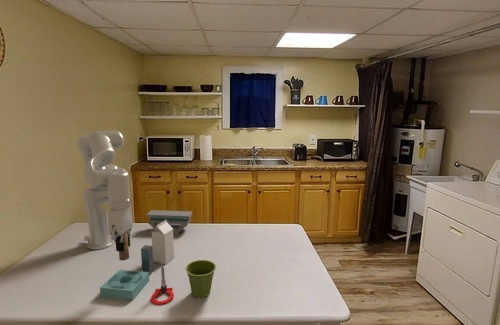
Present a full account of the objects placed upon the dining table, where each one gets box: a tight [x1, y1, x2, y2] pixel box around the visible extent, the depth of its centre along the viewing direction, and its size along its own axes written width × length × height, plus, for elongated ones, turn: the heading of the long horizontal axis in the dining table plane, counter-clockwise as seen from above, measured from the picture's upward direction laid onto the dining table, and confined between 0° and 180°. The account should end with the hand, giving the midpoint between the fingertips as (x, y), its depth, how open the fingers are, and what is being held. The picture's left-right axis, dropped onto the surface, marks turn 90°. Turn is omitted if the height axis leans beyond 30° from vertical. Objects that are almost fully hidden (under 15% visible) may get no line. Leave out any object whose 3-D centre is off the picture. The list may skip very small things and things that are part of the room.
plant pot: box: [184, 259, 217, 299], centre depth 122 cm, size 12×12×11 cm
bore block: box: [99, 269, 150, 301], centre depth 126 cm, size 13×13×4 cm
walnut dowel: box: [117, 231, 130, 261], centre depth 122 cm, size 4×4×12 cm
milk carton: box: [151, 220, 175, 265], centre depth 148 cm, size 7×7×19 cm
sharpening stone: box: [146, 209, 193, 235], centre depth 183 cm, size 25×8×11 cm, turn 86°
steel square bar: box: [140, 244, 155, 276], centre depth 137 cm, size 4×4×12 cm
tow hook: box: [150, 262, 175, 306], centre depth 119 cm, size 8×13×9 cm
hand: (123, 248), depth 122 cm, fingers closed on walnut dowel, 3 cm apart
